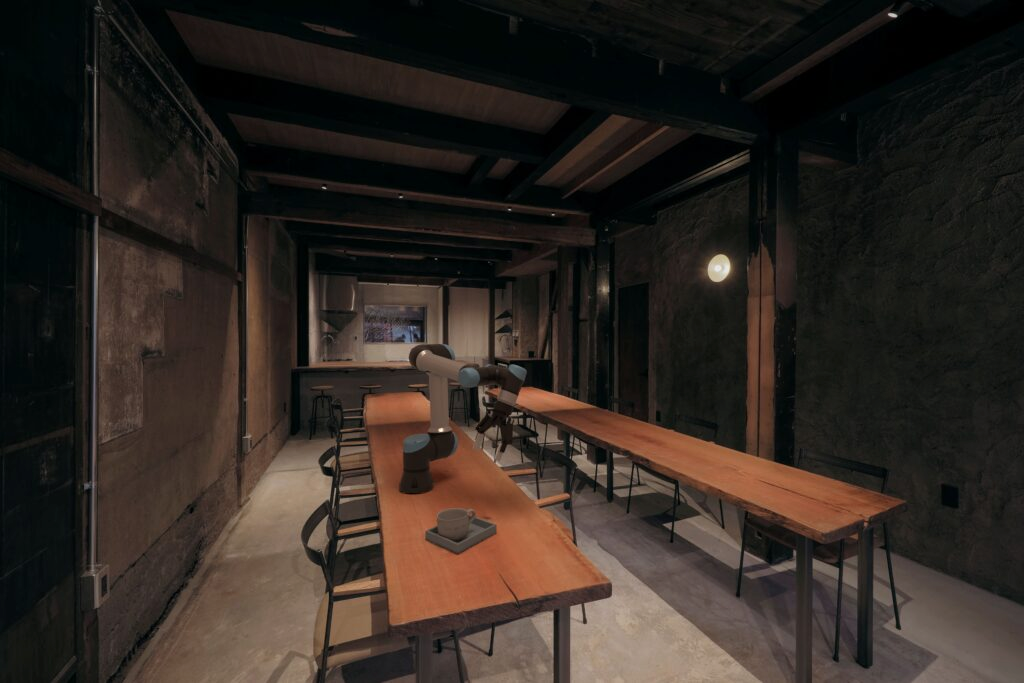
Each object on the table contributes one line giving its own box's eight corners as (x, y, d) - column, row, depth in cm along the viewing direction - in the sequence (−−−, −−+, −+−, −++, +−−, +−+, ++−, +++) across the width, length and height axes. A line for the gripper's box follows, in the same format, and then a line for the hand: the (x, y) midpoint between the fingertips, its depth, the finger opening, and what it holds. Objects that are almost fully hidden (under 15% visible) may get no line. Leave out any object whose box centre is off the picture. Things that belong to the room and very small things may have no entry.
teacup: (441, 547, 133) (441, 522, 133) (432, 533, 143) (432, 509, 143) (482, 538, 139) (482, 514, 139) (471, 525, 149) (471, 503, 149)
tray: (425, 539, 139) (425, 530, 139) (464, 521, 154) (464, 513, 154) (457, 554, 130) (457, 544, 130) (496, 533, 144) (496, 524, 144)
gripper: (533, 412, 159) (513, 467, 155) (492, 399, 177) (473, 447, 173) (520, 407, 154) (499, 463, 150) (479, 393, 173) (460, 443, 168)
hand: (485, 454), depth 162 cm, fingers open, 13 cm apart
